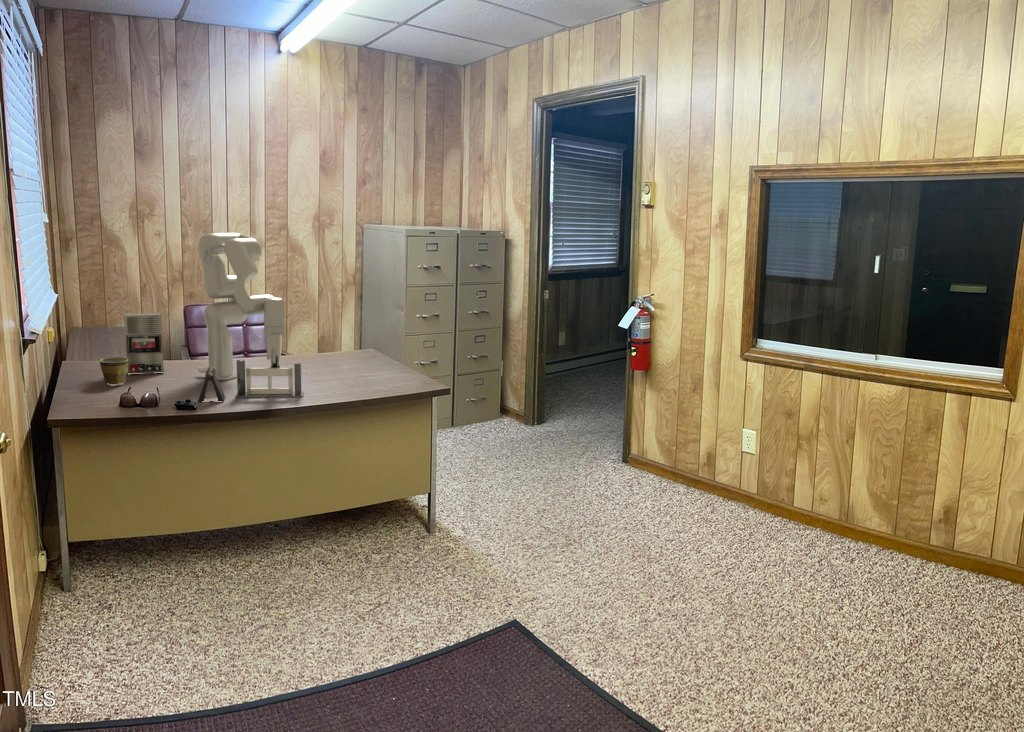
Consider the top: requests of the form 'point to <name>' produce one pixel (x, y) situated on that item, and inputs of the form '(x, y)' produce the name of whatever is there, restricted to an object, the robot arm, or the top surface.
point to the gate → (269, 380)
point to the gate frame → (243, 394)
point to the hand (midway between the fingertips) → (275, 375)
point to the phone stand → (215, 383)
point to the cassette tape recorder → (144, 343)
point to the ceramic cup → (114, 369)
